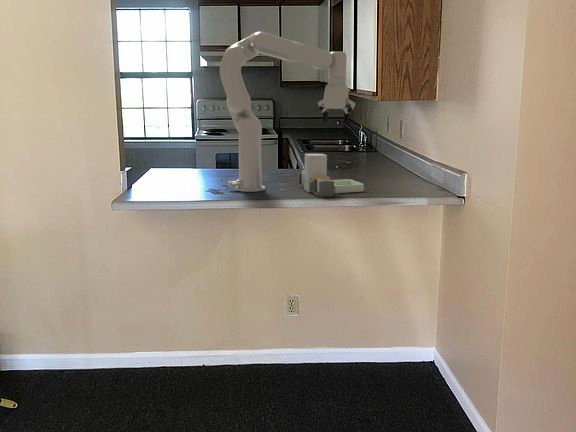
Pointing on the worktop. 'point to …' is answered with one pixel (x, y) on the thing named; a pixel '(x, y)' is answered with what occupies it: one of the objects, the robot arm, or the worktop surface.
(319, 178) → the cartridges
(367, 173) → the worktop surface
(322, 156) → the skincare box
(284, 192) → the worktop surface
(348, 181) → the tray
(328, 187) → the rail
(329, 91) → the robot arm
